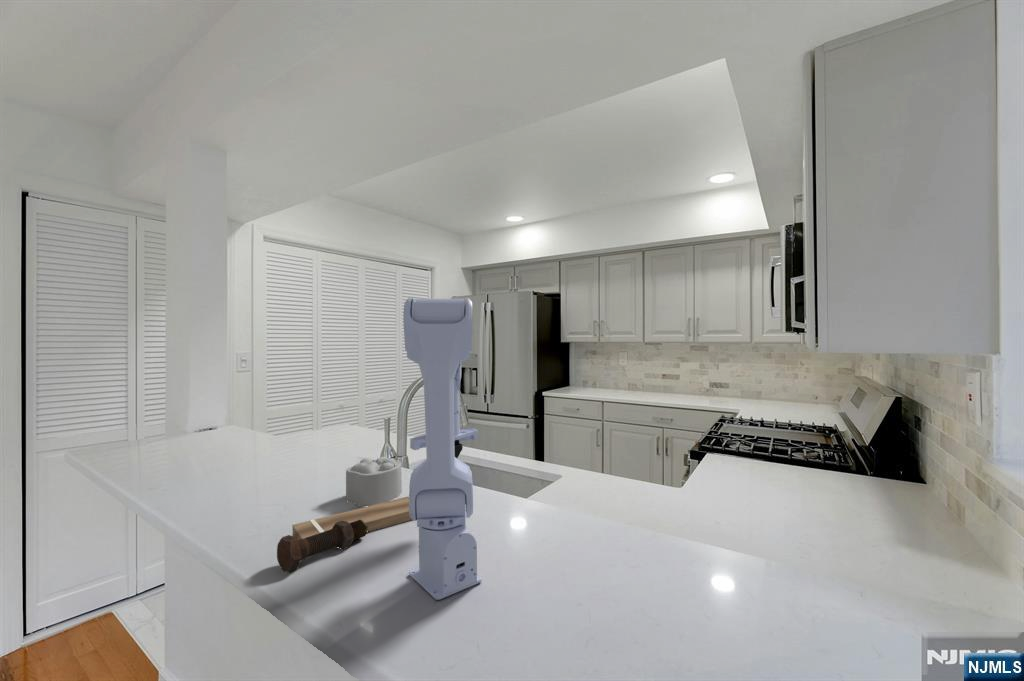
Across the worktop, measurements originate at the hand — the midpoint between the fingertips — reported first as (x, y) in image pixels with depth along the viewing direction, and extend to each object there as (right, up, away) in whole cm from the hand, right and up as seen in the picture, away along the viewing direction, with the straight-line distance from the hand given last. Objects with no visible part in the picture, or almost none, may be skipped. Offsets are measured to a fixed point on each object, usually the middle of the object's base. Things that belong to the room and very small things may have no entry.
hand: (445, 479), depth 88 cm
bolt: (-19, -10, -11) cm, 24 cm away
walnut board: (-17, -10, +1) cm, 20 cm away
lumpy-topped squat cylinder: (-19, -10, +18) cm, 28 cm away
